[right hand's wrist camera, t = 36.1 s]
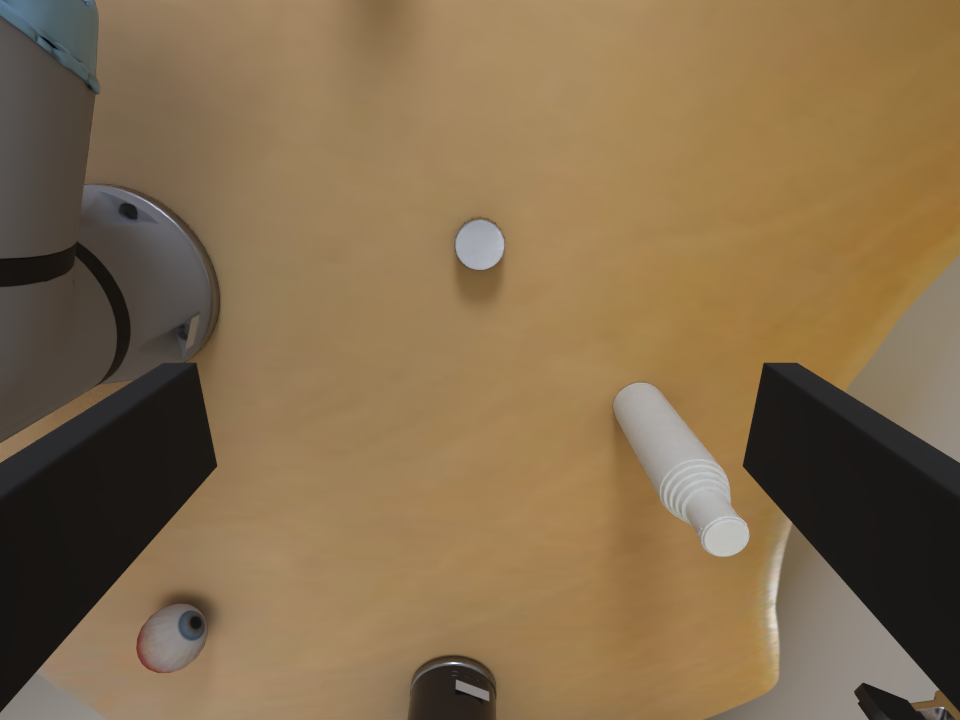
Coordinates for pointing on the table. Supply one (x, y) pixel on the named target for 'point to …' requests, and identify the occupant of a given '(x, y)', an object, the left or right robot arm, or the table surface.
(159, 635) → the eyeball
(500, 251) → the cap
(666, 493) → the bottle
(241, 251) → the table surface
